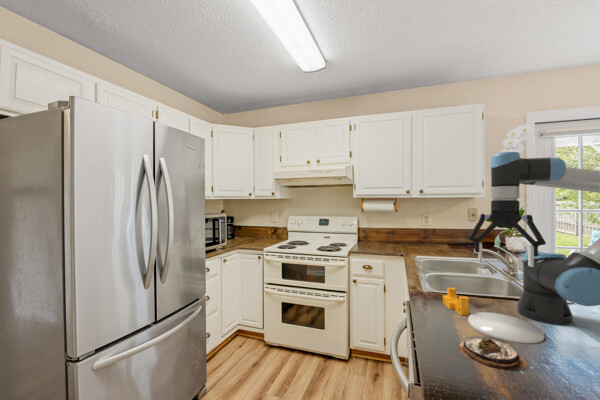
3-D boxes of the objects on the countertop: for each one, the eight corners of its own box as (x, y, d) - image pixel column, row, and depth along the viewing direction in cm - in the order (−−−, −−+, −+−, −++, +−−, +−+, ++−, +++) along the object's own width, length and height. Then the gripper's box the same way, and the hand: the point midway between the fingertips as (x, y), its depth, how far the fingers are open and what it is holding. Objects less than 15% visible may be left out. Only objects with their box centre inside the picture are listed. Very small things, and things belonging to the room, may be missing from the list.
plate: (532, 322, 95) (532, 319, 95) (554, 351, 77) (555, 347, 77) (465, 311, 104) (465, 308, 104) (471, 335, 86) (471, 331, 86)
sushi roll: (532, 379, 64) (532, 361, 64) (459, 362, 72) (459, 346, 72) (519, 348, 77) (518, 333, 77) (458, 337, 84) (457, 323, 84)
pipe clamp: (442, 303, 113) (442, 287, 113) (453, 303, 112) (453, 287, 112) (456, 315, 101) (456, 298, 101) (468, 316, 101) (468, 298, 100)
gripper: (550, 199, 88) (549, 265, 88) (460, 199, 99) (460, 258, 99) (559, 199, 81) (559, 271, 81) (461, 199, 92) (461, 262, 93)
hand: (504, 264), depth 90 cm, fingers open, 13 cm apart
